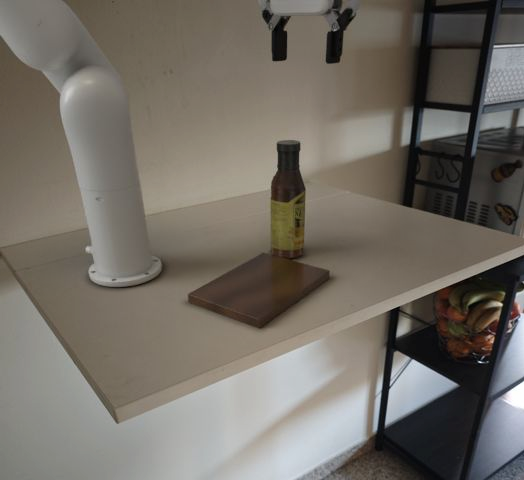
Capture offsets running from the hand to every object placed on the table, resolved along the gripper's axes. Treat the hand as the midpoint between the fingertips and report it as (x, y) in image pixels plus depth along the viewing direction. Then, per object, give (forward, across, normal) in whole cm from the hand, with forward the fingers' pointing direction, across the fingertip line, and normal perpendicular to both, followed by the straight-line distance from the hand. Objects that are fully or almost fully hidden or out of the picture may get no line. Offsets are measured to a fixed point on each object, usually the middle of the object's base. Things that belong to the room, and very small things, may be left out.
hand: (305, 61), depth 76 cm
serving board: (+32, +3, -16) cm, 35 cm away
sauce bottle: (+32, -2, -1) cm, 32 cm away
